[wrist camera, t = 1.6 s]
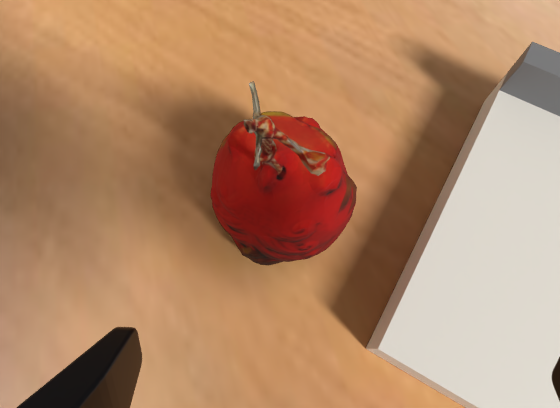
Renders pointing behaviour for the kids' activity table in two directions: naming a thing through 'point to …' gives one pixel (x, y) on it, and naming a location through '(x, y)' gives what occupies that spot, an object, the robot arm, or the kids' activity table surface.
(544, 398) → the shelf board
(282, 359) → the kids' activity table surface
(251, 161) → the red bumpy oval lump
